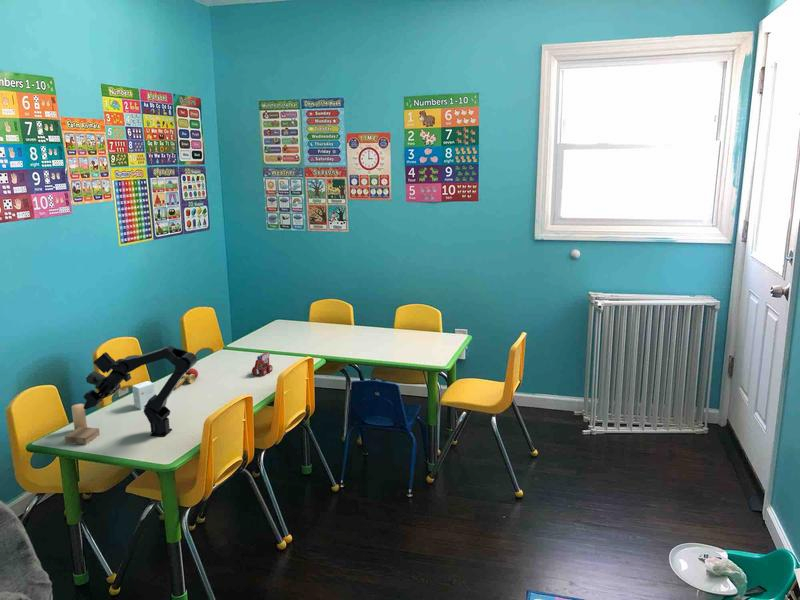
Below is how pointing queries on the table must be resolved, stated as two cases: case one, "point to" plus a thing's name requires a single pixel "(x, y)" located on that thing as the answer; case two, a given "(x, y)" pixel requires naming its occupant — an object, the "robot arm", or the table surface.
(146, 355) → the robot arm
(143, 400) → the small box
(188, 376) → the kendama
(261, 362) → the toy fire truck
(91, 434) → the base slab
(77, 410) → the cylinder block
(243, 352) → the table surface
